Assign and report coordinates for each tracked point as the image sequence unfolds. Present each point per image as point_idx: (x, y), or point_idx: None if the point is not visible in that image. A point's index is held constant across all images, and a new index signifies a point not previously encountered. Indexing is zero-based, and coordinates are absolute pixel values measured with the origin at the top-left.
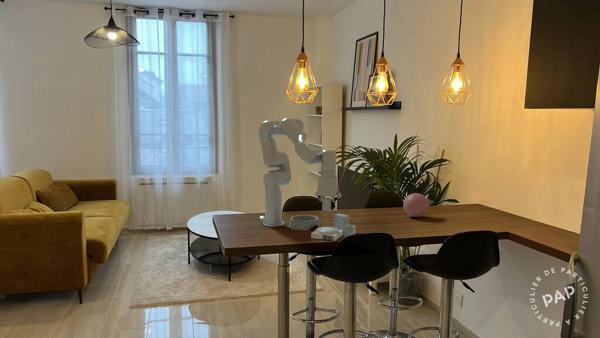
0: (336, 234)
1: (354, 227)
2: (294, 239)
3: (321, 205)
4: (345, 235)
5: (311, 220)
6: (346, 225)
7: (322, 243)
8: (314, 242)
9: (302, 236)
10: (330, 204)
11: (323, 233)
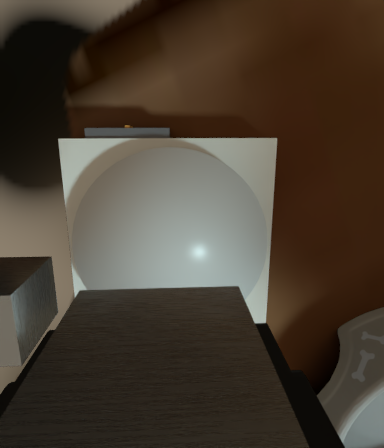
0: (70, 188)
1: None
2: (374, 38)
3: (299, 386)
4: (37, 261)
5: (365, 398)
6: (6, 324)
7: (132, 17)
8: (200, 19)
9: (338, 151)
10: (34, 380)
11: (170, 147)
